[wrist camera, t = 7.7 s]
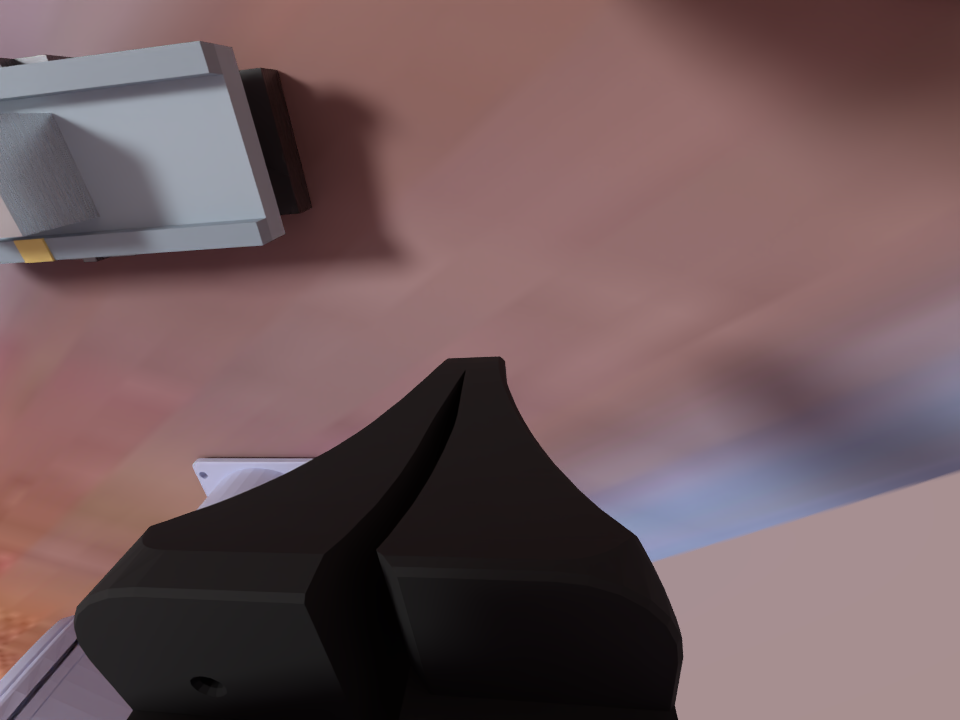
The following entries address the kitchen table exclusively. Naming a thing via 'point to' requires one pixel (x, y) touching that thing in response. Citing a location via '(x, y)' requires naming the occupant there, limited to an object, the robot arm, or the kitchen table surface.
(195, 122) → the beam
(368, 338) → the kitchen table surface
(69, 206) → the block
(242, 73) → the stand
